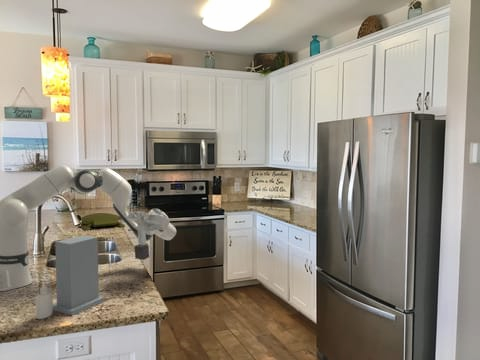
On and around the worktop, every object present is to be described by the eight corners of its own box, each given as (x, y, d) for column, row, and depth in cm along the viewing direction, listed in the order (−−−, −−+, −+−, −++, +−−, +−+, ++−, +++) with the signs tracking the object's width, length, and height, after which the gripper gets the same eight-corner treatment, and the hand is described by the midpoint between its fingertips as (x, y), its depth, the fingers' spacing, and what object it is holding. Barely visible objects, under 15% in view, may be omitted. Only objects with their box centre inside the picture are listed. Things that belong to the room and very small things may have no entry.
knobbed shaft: (137, 211, 184) (131, 213, 181) (146, 212, 182) (140, 214, 178) (141, 255, 188) (135, 258, 184) (149, 257, 185) (143, 259, 182)
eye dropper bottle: (35, 316, 142) (34, 283, 141) (51, 312, 145) (51, 281, 144) (36, 320, 138) (35, 287, 137) (53, 316, 141) (53, 284, 140)
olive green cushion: (126, 227, 308) (125, 215, 307) (85, 231, 291) (84, 218, 290) (114, 221, 337) (113, 209, 336) (76, 224, 320) (75, 212, 320)
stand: (84, 295, 162) (82, 233, 160) (105, 300, 157) (104, 237, 155) (50, 309, 148) (48, 241, 146) (72, 315, 142) (70, 245, 140)
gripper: (140, 215, 197) (123, 204, 186) (172, 219, 188) (157, 208, 177) (135, 227, 195) (118, 217, 184) (168, 231, 186) (152, 221, 175)
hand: (137, 212), depth 180 cm, fingers closed on knobbed shaft, 2 cm apart
